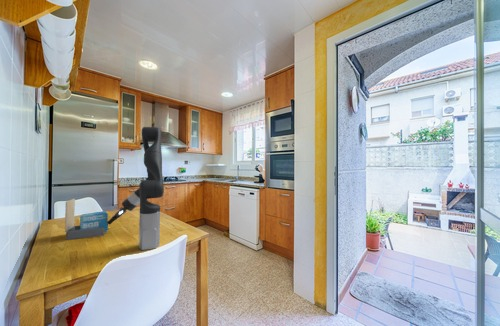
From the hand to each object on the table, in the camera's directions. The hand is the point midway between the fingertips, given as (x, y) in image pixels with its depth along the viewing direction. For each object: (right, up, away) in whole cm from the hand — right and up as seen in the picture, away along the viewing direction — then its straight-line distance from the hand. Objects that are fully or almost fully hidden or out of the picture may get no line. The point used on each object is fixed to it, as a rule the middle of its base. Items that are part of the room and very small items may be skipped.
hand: (108, 223), depth 112 cm
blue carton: (-6, -5, -3) cm, 9 cm away
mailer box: (-8, -5, -4) cm, 11 cm away
